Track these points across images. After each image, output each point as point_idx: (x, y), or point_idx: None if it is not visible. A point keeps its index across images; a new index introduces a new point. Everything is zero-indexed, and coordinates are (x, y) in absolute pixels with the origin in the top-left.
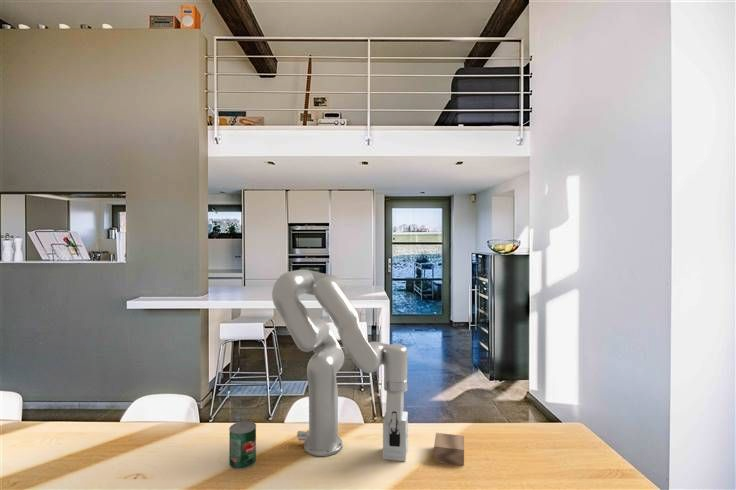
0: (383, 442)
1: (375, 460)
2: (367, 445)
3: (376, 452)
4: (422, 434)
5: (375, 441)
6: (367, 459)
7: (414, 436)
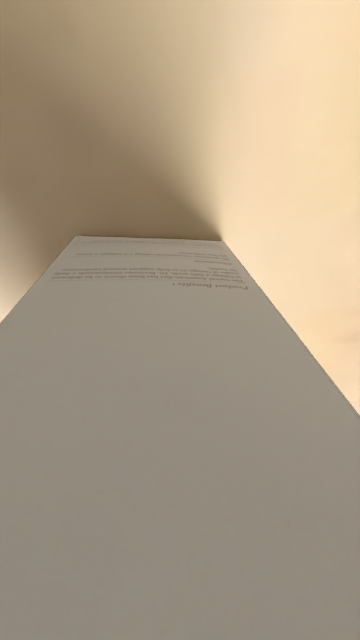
0: (28, 293)
1: (41, 179)
2: (264, 62)
3: (156, 173)
4: (347, 392)
5: (324, 142)
6: (27, 99)
7: (337, 367)
